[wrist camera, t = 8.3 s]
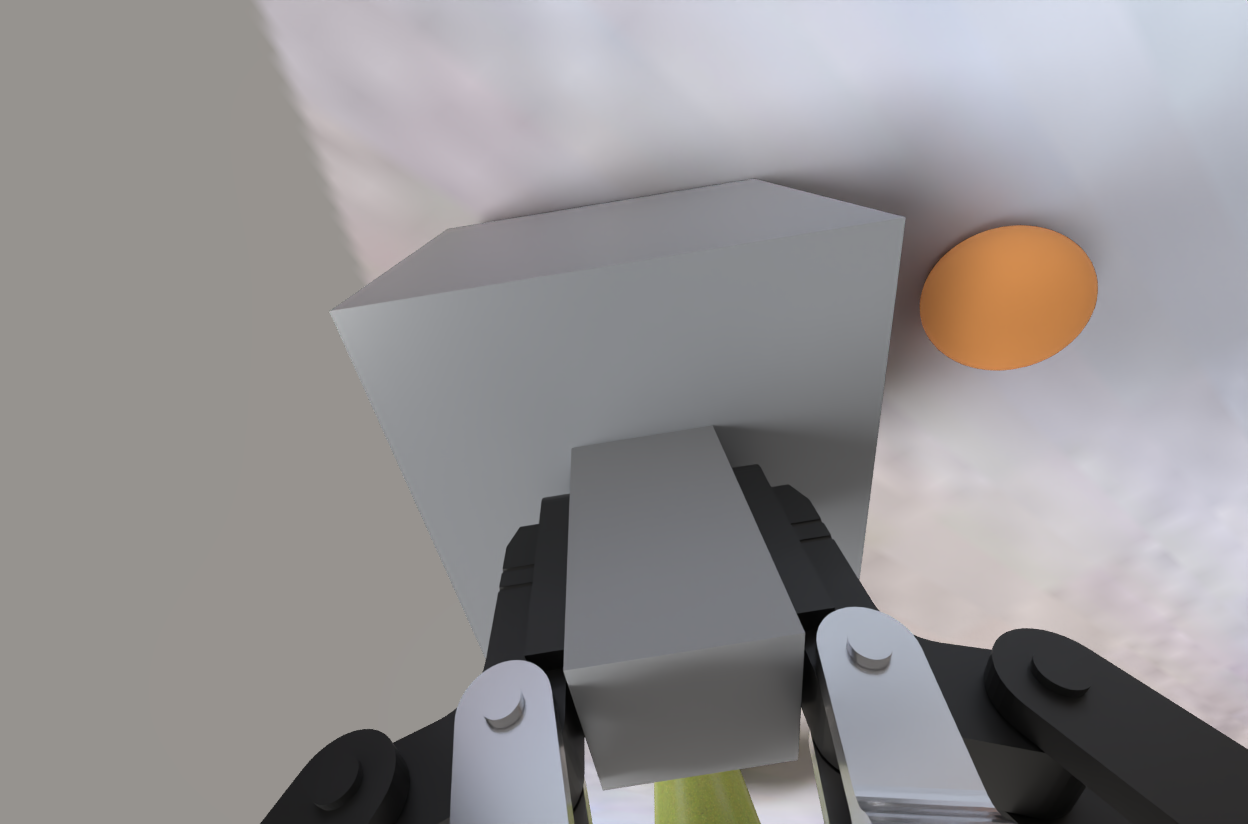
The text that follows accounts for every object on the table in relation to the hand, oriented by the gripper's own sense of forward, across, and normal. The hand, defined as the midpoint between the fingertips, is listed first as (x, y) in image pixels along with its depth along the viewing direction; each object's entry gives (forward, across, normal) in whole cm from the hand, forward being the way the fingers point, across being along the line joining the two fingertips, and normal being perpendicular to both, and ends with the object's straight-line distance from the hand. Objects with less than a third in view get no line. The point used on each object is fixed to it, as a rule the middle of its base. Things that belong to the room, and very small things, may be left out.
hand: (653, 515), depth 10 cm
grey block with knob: (+10, 0, 0) cm, 10 cm away
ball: (+8, -14, 0) cm, 16 cm away
